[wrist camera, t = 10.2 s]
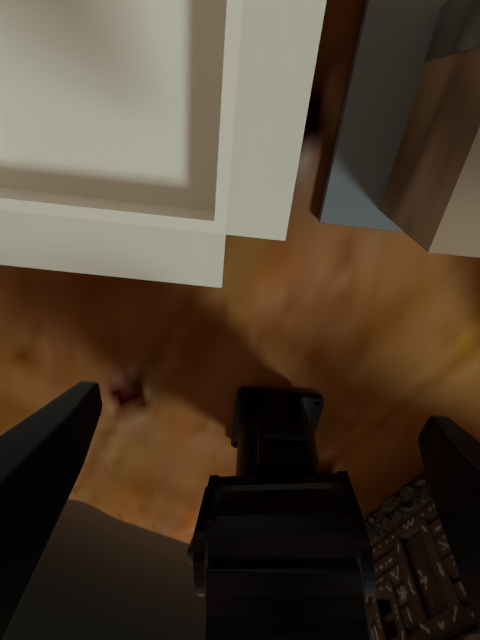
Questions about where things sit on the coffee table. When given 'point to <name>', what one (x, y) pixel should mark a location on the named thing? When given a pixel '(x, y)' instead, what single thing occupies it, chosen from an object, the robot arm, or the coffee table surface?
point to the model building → (415, 573)
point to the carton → (150, 131)
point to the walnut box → (443, 142)
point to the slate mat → (377, 109)
